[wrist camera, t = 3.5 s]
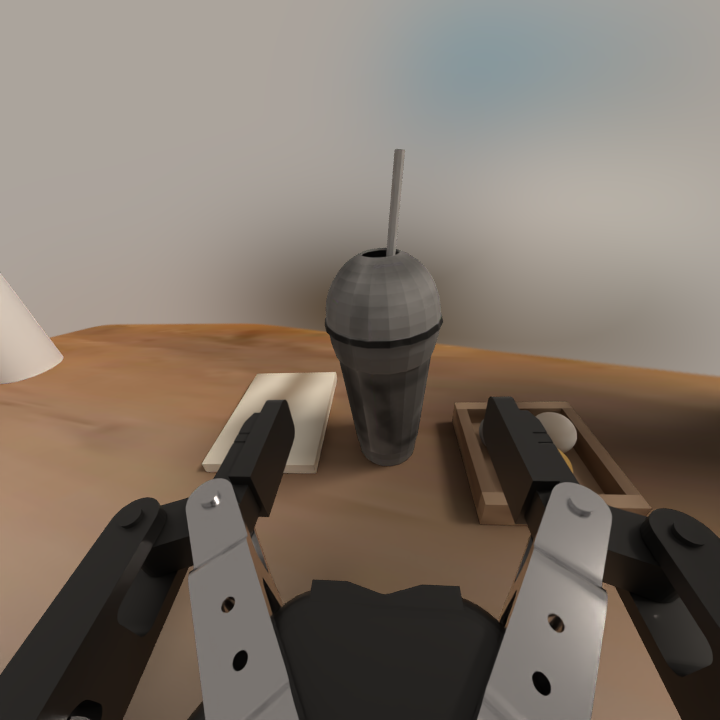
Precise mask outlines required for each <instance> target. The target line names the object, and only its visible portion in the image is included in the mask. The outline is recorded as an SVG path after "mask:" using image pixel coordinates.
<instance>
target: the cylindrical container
mask: <svg viewBox="0 0 720 720" xmlns="http://www.w3.org/2000/svg"><path fill="white" fill-rule="evenodd" d="M62 360H63V355H62V354H61V353H60V351H59V350H58V349H57V347H56V346H55V345H54V343H53V342H52V341H51V339H50V338H49V337H48V336H47V334H46V333H45V332H44V330H43V329H42V328H41V326H40V325H39V324H38V322H37V321H36V320H35V318H34V317H33V315H32V314H31V313H30V312H29V310H28V309H27V308H26V306H25V305H24V304H23V302H22V301H21V300H20V298H19V297H18V296H17V294H16V293H15V292H14V290H13V289H12V288H11V286H10V285H9V284H8V282H7V281H6V280H5V278H4V277H3V276H2V274H1V273H0V384H7V383H13V382H17V381H21V380H25V379H28V378H31V377H34V376H36V375H39V374H41V373H43V372H46V371H47V370H49V369H51V368H53V367H55V366H56V365H58V364H59V363H60V362H61V361H62Z"/></svg>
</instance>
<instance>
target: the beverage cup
mask: <svg viewBox="0 0 720 720" xmlns="http://www.w3.org/2000/svg"><path fill="white" fill-rule="evenodd" d="M404 153H405V150H402V149H395V153H394V165H393V179H392V190H391V203H390V215H389V229H388V240H387V248H377V249H371V250H367V251H364V252H362V253H360V254H358V255H356V256H354V257H353V258H352V259H350V260H349V261H348V262H346V263H345V264H344V266H343V267H342V268H341V269H340V270H339V272H338V274H337V275H336V277H335V278H334V280H333V282H332V284H331V287H330V289H329V292H328V296H327V301H326V318H325V327H326V332H327V333H328V334H329V335H330V339H331V343H332V345H333V348H334V351H335V353H336V356H337V358H338V359H339V361H340V365H341V369H342V373H343V378H344V382H345V386H346V390H347V395H348V399H349V403H350V407H351V411H352V416H353V420H354V424H355V428H356V432H357V436H358V440H359V441H360V445H361V449H362V453H363V454H364V455H365V457H366V458H367V459H369V460H370V461H371V462H373V463H375V464H378V465H381V466H393V465H398V464H401V463H402V462H404V461H406V460H407V459H408V458H409V457H410V456H411V455H412V453H413V450H414V444H415V440H416V437H417V434H418V429H419V423H420V417H421V411H422V405H423V399H424V393H425V388H426V382H427V376H428V370H429V364H430V358H431V355H432V352H433V350H434V347H435V344H436V341H437V337H438V334H439V329H440V327H441V325H442V323H443V319H442V315H441V305H440V299H439V294H438V291H437V288H436V285H435V282H434V280H433V278H432V276H431V274H430V273H429V271H428V270H427V269H426V267H425V266H424V265H423V264H422V263H421V262H419V261H418V260H417V259H416V258H414V257H413V256H411V255H409V254H408V253H406V252H403V251H400V250H397V249H396V241H397V230H398V219H399V209H400V197H401V186H402V175H403V165H404Z"/></svg>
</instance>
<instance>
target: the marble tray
mask: <svg viewBox="0 0 720 720" xmlns="http://www.w3.org/2000/svg"><path fill="white" fill-rule="evenodd" d="M487 403H488V402H462V403H455V404H454V411H453V419H452V422H453V426H454V430H455V433H456V437H457V441H458V445H459V448H460V452H461V456H462V459H463V463H464V467H465V470H466V474H467V478H468V481H469V485H470V489H471V493H472V496H473V500H474V504H475V507H476V511H477V515H478V518H479V522H480V524H490V525H523V526H528V525H527V524H515V523H514V520H513V517H512V514H511V512H510V509H509V506H508V504H507V501H506V498H505V496H504V493H503V490H502V488H501V485H500V482H499V479H498V477H497V474H496V471H495V469H494V466H493V463H492V461H491V458H490V455H489V453H488V450H487V447H486V445H485V442H484V438H483V431H482V427H483V421H484V417H485V412H486V407H487ZM516 404H517V406H518V408H519V409H520V410H528V411H529V412H530V413H532V414H533V415H534V416H535V417H536V418H538V419H539V420H540V422H541V423H542V425H543V426H544V428H545V430H546V431H547V434H549V436H550V438H551V439H552V441H553V444H555V446H556V447H557V449H558V450H559V452H560V454H561V455H562V457H563V458H564V460H565V462H566V463H567V465H568V466H569V468H570V470H571V471H572V473H573V475H574V476H575V478H576V479H577V481H578V482H579V484H580V485H582V486H585V487H587V488H588V489H590V490H592V491H593V492H595V493H596V494H597V495H599V496H600V497H601V498H602V499H603V500H604V501H605V503H606V504H607V505H609V506H612V507H615V508H618V509H622V510H625V511H629V512H632V513H636V514H639V515H643V516H646V515H647V514H648V513H649V511H650V510H651V509H652V508H651V507H650V505H649V504H648V503H647V501H646V500H645V499H644V498H643V496H642V495H641V494H640V493H639V491H638V490H637V489H636V488H635V486H634V485H633V484H632V483H631V481H630V480H629V479H628V477H627V476H626V475H625V474H624V472H623V471H622V470H621V469H620V467H619V466H618V465H617V464H616V462H615V461H614V460H613V458H612V457H611V456H610V455H609V453H608V452H607V451H606V450H605V448H604V447H603V446H602V445H601V443H600V442H599V441H598V439H597V438H596V437H595V436H594V434H593V433H592V432H591V431H590V429H589V428H588V427H587V426H586V424H585V423H584V422H583V421H582V419H581V418H580V417H579V415H578V414H577V413H576V412H575V410H574V409H573V408H572V407H571V405H570V404H569V403H568V402H567V401H557V402H516Z"/></svg>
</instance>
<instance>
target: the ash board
mask: <svg viewBox="0 0 720 720" xmlns="http://www.w3.org/2000/svg"><path fill="white" fill-rule="evenodd" d="M336 382H337V376H336V372H323V373H277V374H257V375H256V377H255V379H254V380H253V382H252V383H251V385H250V387H249V388H248V390H247V392H246V393H245V395H244V396H243V398H242V400H241V401H240V403H239V404H238V406H237V408H236V409H235V411H234V413H233V414H232V416H231V417H230V419H229V421H228V422H227V424H226V426H225V427H224V429H223V430H222V432H221V434H220V435H219V437H218V438H217V440H216V442H215V443H214V445H213V447H212V448H211V450H210V451H209V453H208V455H207V456H206V458H205V459H204V461H203V463H202V465H203V467H204V469H205V470H206V472H217V471H218V470H219V468H220V466H221V464H222V462H223V460H224V459H225V457H226V455H227V453H228V451H229V449H230V448H231V446H232V444H234V440H235V438H236V437H237V435H239V431H240V429H241V427H242V426H243V424H244V422H245V421H246V420H247V419H248V418H249V417H250V416H251V415H252V414H253V413H260V412H261V410H262V408H263V406H264V404H265V402H266V401H267V400H287V402H288V405H289V409H290V412H291V416H292V419H293V423H294V427H295V437H294V442H293V445H292V448H291V451H290V454H289V457H288V460H287V463H286V466H285V469H284V472H283V473H316V472H317V467H318V463H319V458H320V454H321V449H322V445H323V440H324V436H325V431H326V427H327V422H328V418H329V413H330V409H331V404H332V400H333V395H334V391H335V386H336Z"/></svg>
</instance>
